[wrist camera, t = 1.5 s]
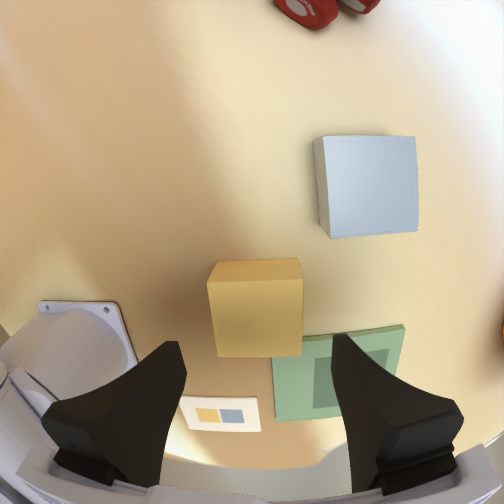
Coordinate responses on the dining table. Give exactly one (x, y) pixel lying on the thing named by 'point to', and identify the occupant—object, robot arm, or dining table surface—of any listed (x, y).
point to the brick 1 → (257, 308)
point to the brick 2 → (366, 184)
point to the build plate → (326, 372)
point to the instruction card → (221, 413)
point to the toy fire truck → (321, 10)
